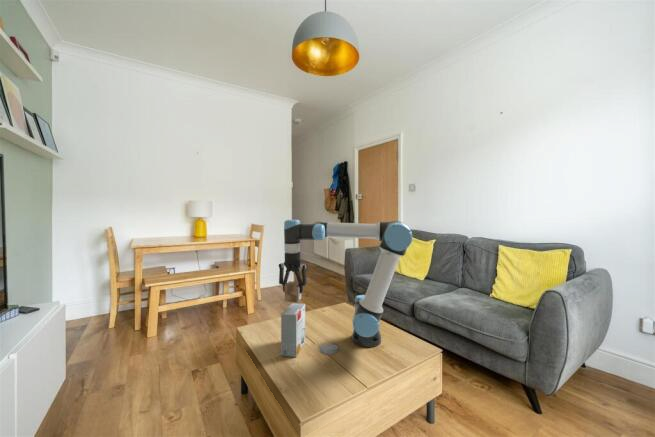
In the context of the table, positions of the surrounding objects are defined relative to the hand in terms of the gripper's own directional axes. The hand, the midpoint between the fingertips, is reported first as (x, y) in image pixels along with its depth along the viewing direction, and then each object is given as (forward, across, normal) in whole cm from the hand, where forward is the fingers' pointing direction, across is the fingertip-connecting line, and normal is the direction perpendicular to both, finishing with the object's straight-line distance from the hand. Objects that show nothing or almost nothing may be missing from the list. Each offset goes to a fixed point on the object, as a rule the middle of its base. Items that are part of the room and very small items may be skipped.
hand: (293, 298), depth 130 cm
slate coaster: (+25, -17, -3) cm, 31 cm away
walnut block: (0, 0, 0) cm, 1 cm away
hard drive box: (+25, 0, 0) cm, 25 cm away
